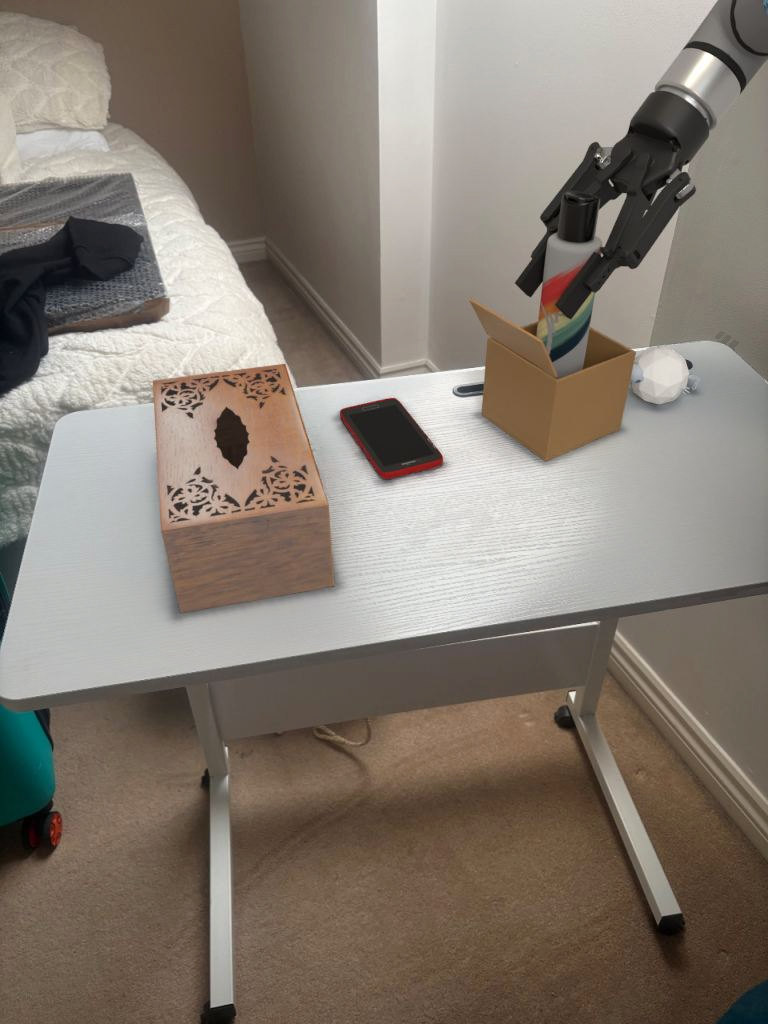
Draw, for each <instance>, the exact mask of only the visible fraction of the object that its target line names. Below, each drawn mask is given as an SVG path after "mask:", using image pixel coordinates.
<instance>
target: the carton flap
mask: <svg viewBox="0 0 768 1024" xmlns="http://www.w3.org/2000/svg"><path fill="white" fill-rule="evenodd" d="M468 301H469V303H470V305H471V306H472V309H473V311H474V313H475V314H476V317H477V319H478V321H479V323H480V324H481V327H482V328H483V330H484V332H485V335H487V336H488V337H489V338H490V337H492V338H493V339H495V340H496V341H498V342H500V343H501V344H503V345H504V346H506V347H508V348H509V349H511V350H512V351H514V352H516V353H517V354H519V355H520V356H522V357H524V358H525V359H527V360H528V361H530V362H532V363H533V364H535V365H536V366H538V367H540V368H541V369H543V370H545V371H546V372H548V373H549V374H551V375H553V376H554V377H557V376H558V375H557V373H556V371H555V368H554V366H553V364H552V361H551V359H550V357H549V354H548V352H547V350H546V348H545V345H544V343H543V341H542V340H541V339H539V338H537V337H536V336H534V335H532V334H531V333H529V332H527V331H525V330H524V329H522V328H520V327H521V326H519V325H518V324H516V323H513V322H512V321H510V320H509V319H507V318H505V317H503V316H502V315H500V314H498V313H497V312H495V311H493V310H491V309H490V308H488V307H486V306H485V305H483V304H481V303H479V302H477V301H476V300H475V299H473V298H470V299H469V300H468Z"/></svg>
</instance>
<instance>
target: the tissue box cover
mask: <svg viewBox="0 0 768 1024" xmlns="http://www.w3.org/2000/svg"><path fill="white" fill-rule="evenodd" d="M289 374H290V373H289V371H288V368H287V365H286V363H280V364H271V365H265V366H255V367H249V368H241V369H240V368H239V369H231V370H225V371H216V372H208V373H202V374H201V373H200V374H193V375H186V376H177V377H169V378H162V379H153V380H152V391H153V392H152V393H153V411H154V427H155V445H156V460H157V462H156V465H157V481H158V496H159V497H158V499H159V517H160V518H159V519H160V532H161V537H162V540H163V544H164V548H165V549H164V550H165V553H166V557H167V562H168V566H169V571H170V574H171V578H172V583H173V587H174V591H175V596H176V599H177V604H178V608H179V612H180V613H179V614H185V613H190V612H195V611H200V610H207V609H212V608H219V607H224V606H225V607H226V606H230V605H235V604H241V603H246V602H253V601H258V600H263V599H270V598H274V597H280V596H286V595H291V594H298V593H302V592H309V591H315V590H320V589H325V588H331V587H335V580H334V577H335V576H334V563H333V562H334V561H333V547H332V533H331V518H330V504H329V501H328V497H327V493H326V491H325V488H324V485H323V481H322V478H321V475H320V471H319V468H318V465H317V462H316V459H315V455H314V453H313V449H312V445H311V441H310V440H309V437H308V432H307V429H306V426H305V423H304V420H303V417H302V413H301V410H300V407H299V403H298V401H297V398H296V394H295V390H294V388H293V384H292V382H291V378H290V375H289Z"/></svg>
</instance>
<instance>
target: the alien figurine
mask: <svg viewBox="0 0 768 1024" xmlns="http://www.w3.org/2000/svg"><path fill="white" fill-rule="evenodd" d="M688 381H691V382H692V386H691V388H690V387H688V386H687V385H688ZM699 382H700V377H699V376H696V375H692V371H690V370H689V367H688V364H687V361H686V358H684V357H683V356H682V355H680V354H679V353H678V352H677V351H675V350H674V349H671V348H666V347H660V346H657V347H654V348H651V349H648V350H644V351H642V352H641V354H640V355H639V356H638V357H637V358H635V359H634V364H633V369H632V374H631V379H630V385H631V388H632V393H634V394H635V395H636V396H638V397H639V398H640V399H642V400H643V401H645V402H648V403H651V404H656V405H662V404H666V403H670V402H673V401H675V400H676V399H677V398H678V397H679V396H680V395H681V394H684V396H687V393H688V394H690V393H691V392H690V391H689V390H692V392H694V390H696V389H697V386H698V384H699Z"/></svg>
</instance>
